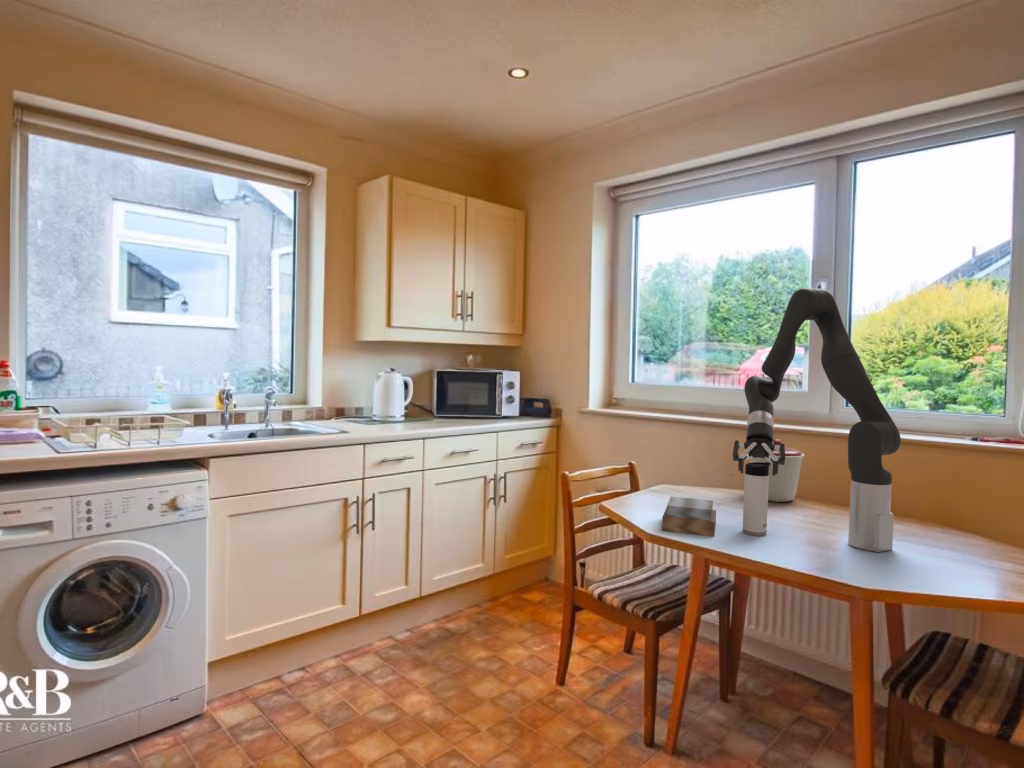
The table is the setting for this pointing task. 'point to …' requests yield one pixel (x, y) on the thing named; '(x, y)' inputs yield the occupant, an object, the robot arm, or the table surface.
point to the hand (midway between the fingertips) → (757, 473)
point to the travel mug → (756, 498)
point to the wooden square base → (689, 516)
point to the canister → (783, 474)
